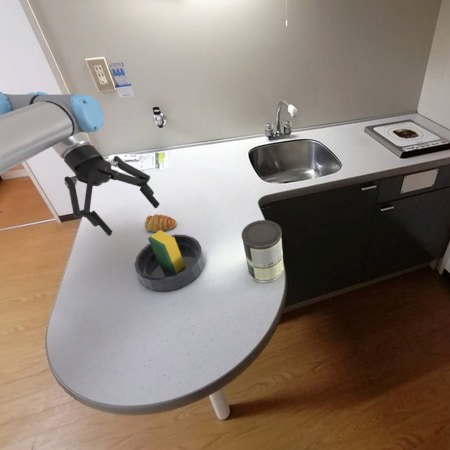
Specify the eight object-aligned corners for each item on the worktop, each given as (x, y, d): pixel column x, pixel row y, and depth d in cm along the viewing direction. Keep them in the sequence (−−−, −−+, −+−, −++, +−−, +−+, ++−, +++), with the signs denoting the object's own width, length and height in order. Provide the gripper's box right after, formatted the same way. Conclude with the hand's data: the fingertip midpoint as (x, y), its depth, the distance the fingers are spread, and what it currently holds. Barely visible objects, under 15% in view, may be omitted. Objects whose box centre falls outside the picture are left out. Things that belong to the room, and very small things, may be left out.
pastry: (179, 219, 105) (176, 211, 103) (173, 233, 100) (170, 224, 98) (152, 220, 105) (148, 211, 103) (144, 233, 100) (140, 224, 98)
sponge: (173, 274, 86) (162, 246, 79) (160, 266, 88) (147, 238, 81) (185, 265, 88) (174, 237, 81) (171, 257, 91) (160, 229, 84)
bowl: (176, 300, 80) (171, 288, 76) (127, 280, 85) (120, 268, 82) (216, 256, 92) (213, 244, 89) (171, 240, 97) (166, 228, 94)
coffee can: (240, 274, 86) (233, 237, 77) (262, 251, 93) (257, 215, 84) (270, 288, 82) (266, 251, 73) (290, 264, 89) (289, 227, 80)
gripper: (122, 141, 87) (170, 201, 90) (23, 180, 71) (86, 251, 74) (125, 127, 81) (177, 191, 85) (19, 166, 66) (88, 243, 69)
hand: (135, 219), depth 80 cm, fingers open, 13 cm apart
